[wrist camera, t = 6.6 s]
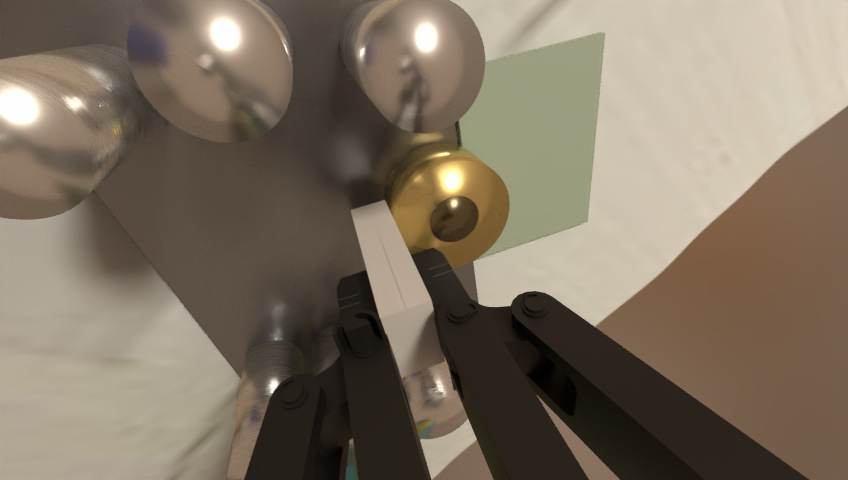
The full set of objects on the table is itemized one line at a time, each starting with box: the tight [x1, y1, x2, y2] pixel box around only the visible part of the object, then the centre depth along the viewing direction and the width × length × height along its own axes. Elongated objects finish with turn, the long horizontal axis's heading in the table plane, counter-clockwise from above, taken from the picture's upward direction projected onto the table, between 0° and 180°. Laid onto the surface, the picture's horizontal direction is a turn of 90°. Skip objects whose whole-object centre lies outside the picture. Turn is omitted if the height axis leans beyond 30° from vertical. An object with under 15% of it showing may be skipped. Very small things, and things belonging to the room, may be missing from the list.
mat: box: [457, 33, 605, 259], centre depth 19 cm, size 10×7×1 cm
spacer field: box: [0, 0, 485, 480], centre depth 15 cm, size 20×14×7 cm
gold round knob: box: [384, 143, 510, 268], centre depth 17 cm, size 5×5×2 cm
